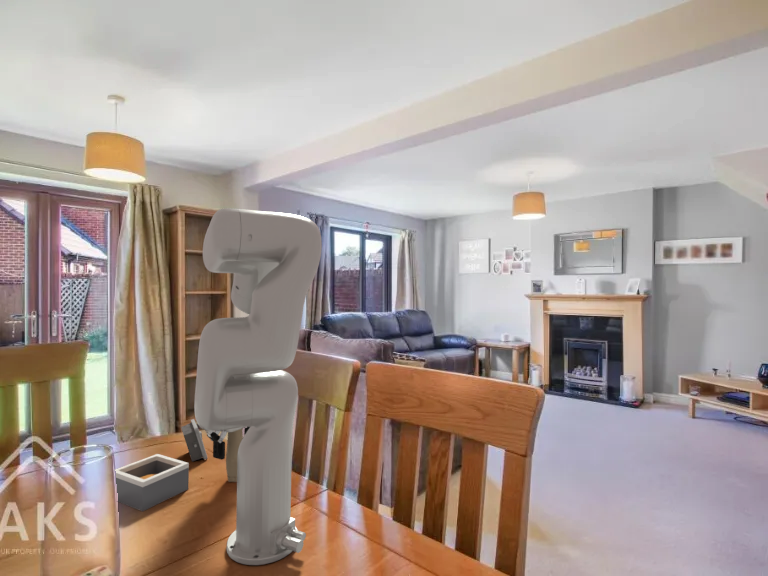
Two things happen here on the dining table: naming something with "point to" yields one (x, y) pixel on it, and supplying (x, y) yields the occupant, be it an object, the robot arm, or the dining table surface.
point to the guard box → (151, 481)
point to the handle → (233, 454)
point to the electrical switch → (194, 441)
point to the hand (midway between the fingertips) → (234, 451)
